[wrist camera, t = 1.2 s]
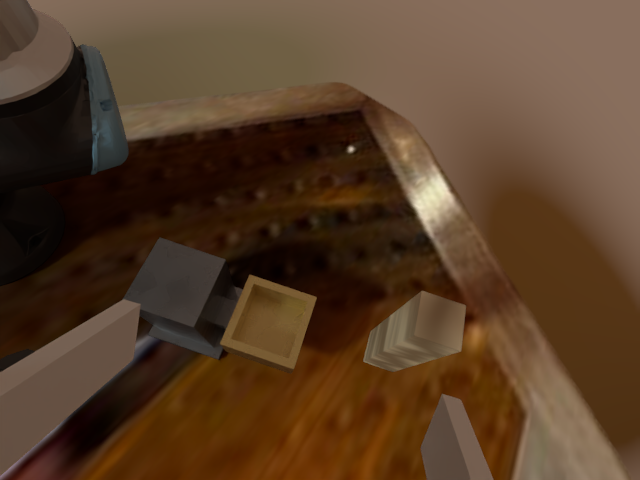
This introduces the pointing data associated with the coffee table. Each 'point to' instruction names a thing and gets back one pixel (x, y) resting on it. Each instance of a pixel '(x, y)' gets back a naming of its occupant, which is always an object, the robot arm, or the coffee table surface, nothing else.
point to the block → (417, 333)
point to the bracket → (219, 308)
